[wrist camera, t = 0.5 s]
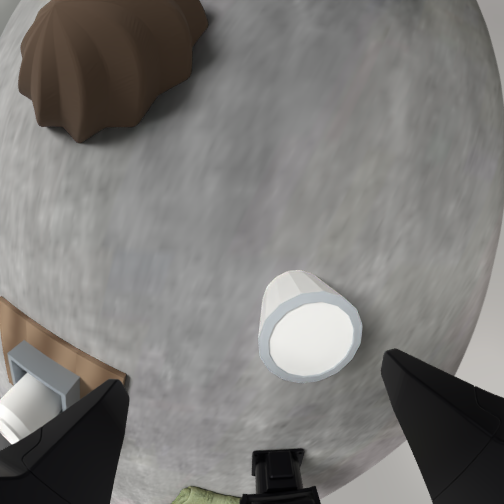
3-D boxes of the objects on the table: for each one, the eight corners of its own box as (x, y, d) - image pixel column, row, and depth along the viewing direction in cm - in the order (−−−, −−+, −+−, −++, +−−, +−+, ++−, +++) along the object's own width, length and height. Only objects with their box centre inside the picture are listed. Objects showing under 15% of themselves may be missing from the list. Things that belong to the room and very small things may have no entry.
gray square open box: (82, 373, 25) (65, 395, 20) (83, 416, 26) (69, 436, 22) (27, 337, 24) (7, 353, 19) (32, 384, 26) (17, 400, 21)
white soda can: (63, 364, 25) (10, 423, 13) (79, 402, 26) (38, 462, 14) (31, 355, 24) (-20, 404, 13) (47, 392, 26) (5, 443, 14)
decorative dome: (19, 138, 19) (-45, 130, 10) (82, -5, 15) (45, -42, 6) (166, 156, 21) (108, 132, 11) (232, -15, 17) (227, -81, 7)
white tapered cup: (340, 266, 22) (375, 295, 16) (324, 338, 24) (347, 383, 17) (260, 258, 22) (265, 286, 15) (250, 333, 24) (251, 382, 17)
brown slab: (126, 374, 25) (123, 378, 24) (116, 445, 28) (114, 448, 27) (1, 296, 23) (-3, 298, 22) (12, 379, 26) (9, 382, 25)
